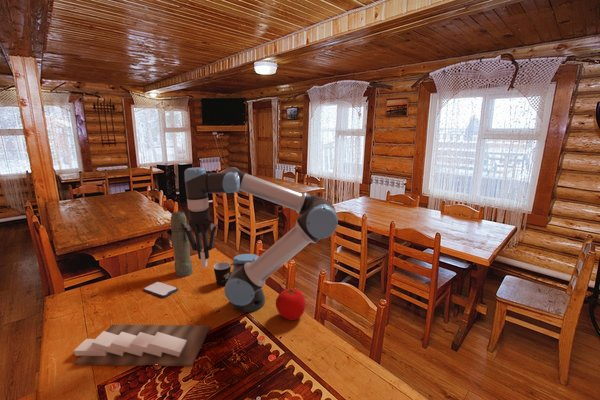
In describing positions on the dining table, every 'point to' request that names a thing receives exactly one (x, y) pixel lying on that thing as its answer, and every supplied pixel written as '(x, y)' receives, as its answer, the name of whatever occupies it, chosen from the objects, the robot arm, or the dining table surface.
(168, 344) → the loose domino
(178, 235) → the thermos
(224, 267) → the coffee mug
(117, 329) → the walnut board
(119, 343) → the domino
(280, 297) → the tomato
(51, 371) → the dining table surface
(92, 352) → the domino
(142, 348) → the domino
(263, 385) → the dining table surface
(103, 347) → the domino
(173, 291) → the phone case
